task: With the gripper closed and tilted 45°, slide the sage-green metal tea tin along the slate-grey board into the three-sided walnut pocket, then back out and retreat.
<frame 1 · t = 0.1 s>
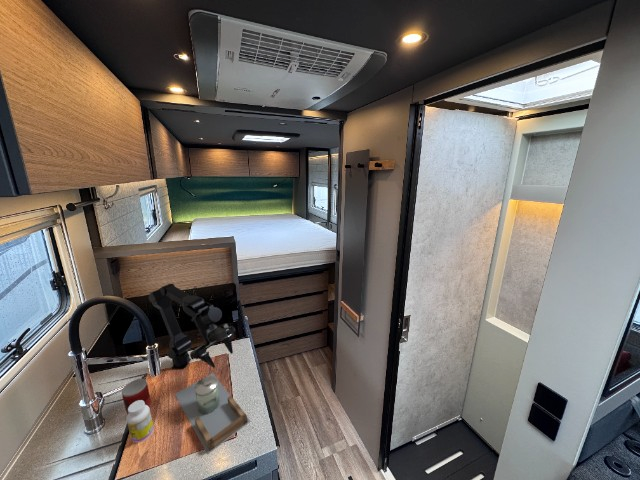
hand: (223, 360, 104), 15 cm above the worktop, tool tilted 35°, fingers open, 9 cm apart
walnut pocket: (221, 423, 93), resting on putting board
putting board: (210, 407, 99), on the worktop
canned food: (139, 409, 99), on the worktop
tea tin: (209, 404, 100), resting on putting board
supplement bottle: (143, 434, 90), on the worktop
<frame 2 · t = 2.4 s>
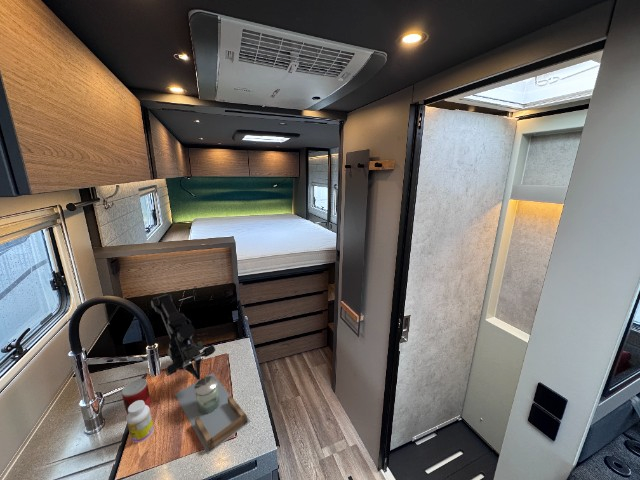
hand: (198, 379, 104), 7 cm above the worktop, tool tilted 45°, fingers closed
nothing on the worktop moved.
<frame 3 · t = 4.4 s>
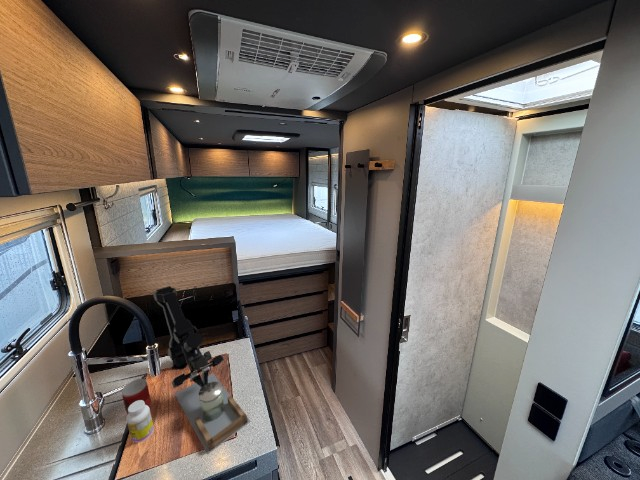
hand: (206, 391, 99), 7 cm above the worktop, tool tilted 45°, fingers closed, pressing on tea tin
tea tin: (213, 411, 98), point 1 cm above the worktop, touching gripper
everything else where it was.
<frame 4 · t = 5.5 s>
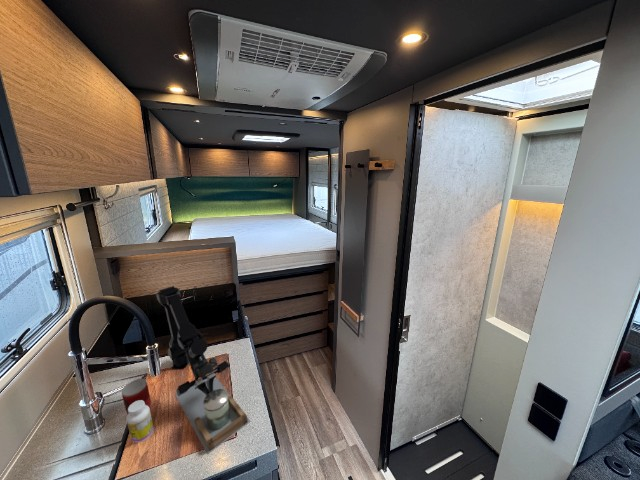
hand: (212, 399, 96), 7 cm above the worktop, tool tilted 45°, fingers closed, pressing on tea tin
tea tin: (218, 419, 94), resting on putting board, touching gripper
everything else where it was.
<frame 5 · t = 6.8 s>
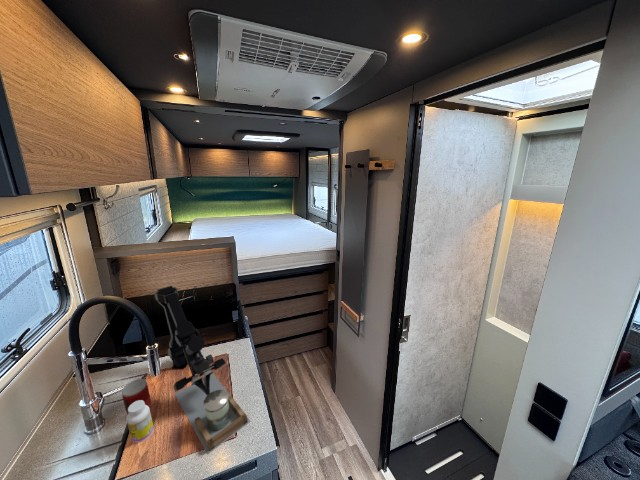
hand: (208, 395, 98), 6 cm above the worktop, tool tilted 45°, fingers closed
tea tin: (218, 420, 94), resting on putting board
everything else where it was.
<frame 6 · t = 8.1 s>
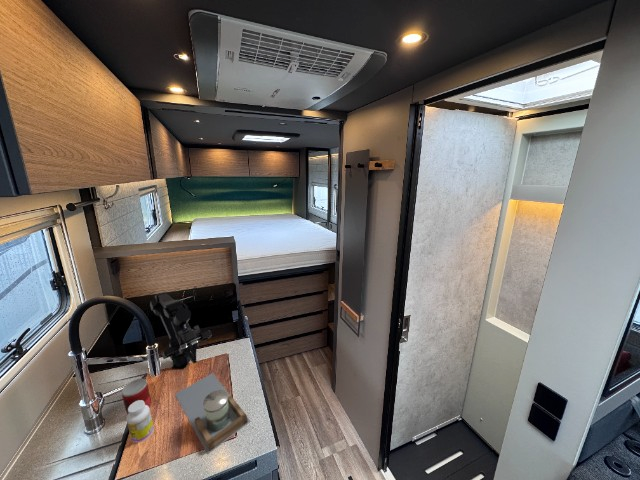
hand: (195, 363, 105), 13 cm above the worktop, tool tilted 45°, fingers closed
nothing on the worktop moved.
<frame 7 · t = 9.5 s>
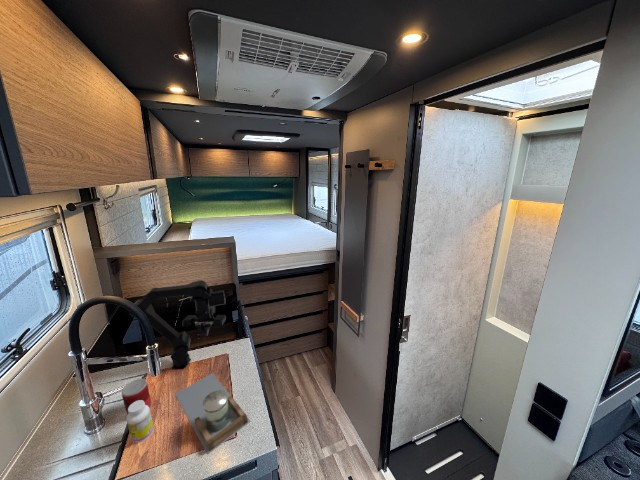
hand: (206, 335, 123), 13 cm above the worktop, tool pointing down, fingers closed
nothing on the worktop moved.
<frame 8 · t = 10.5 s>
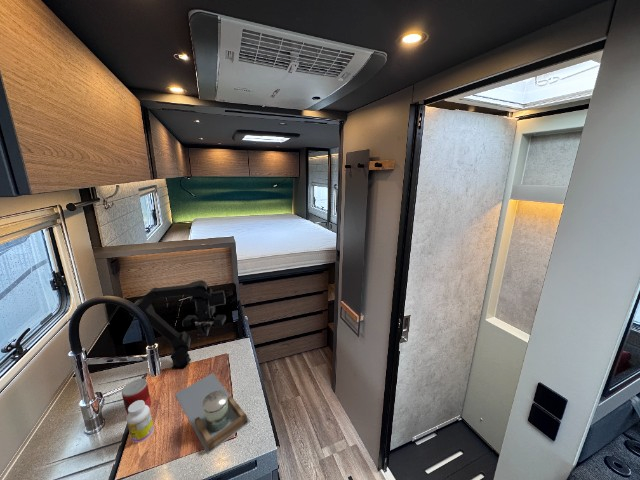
hand: (206, 335, 123), 13 cm above the worktop, tool pointing down, fingers closed
nothing on the worktop moved.
at the end: tea tin 1.4 cm from the walnut pocket (horizontally); tea tin tilted 0°; tea tin moved 9.2 cm from its start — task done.
